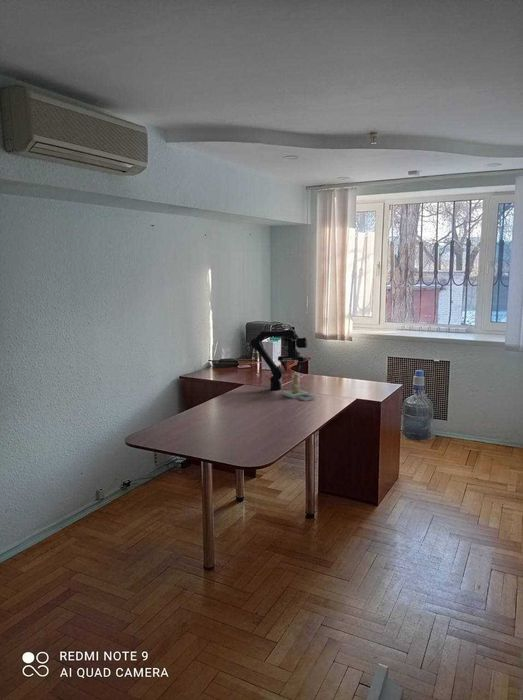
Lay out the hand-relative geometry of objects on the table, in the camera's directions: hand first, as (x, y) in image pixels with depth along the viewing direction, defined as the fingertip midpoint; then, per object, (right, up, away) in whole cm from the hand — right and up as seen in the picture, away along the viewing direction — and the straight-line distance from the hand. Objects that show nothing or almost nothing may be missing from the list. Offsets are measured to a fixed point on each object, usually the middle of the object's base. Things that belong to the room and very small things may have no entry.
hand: (292, 371), depth 343 cm
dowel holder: (+7, -16, -24) cm, 29 cm away
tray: (+1, -15, -14) cm, 21 cm away
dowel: (+1, -14, -14) cm, 20 cm away
